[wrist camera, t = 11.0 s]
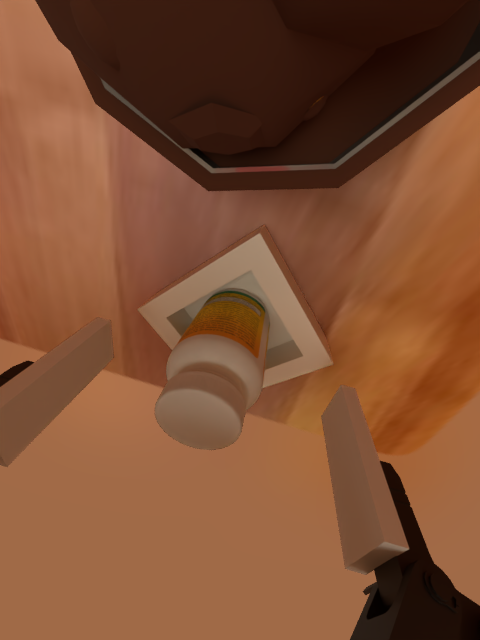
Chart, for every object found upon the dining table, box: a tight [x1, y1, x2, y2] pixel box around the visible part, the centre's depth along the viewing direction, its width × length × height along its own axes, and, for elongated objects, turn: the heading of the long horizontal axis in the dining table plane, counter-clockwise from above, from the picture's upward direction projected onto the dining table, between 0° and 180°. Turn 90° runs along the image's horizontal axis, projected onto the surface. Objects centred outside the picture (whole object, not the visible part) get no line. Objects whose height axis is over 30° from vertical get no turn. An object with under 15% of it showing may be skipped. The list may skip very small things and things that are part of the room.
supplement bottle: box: [155, 289, 270, 450], centre depth 15 cm, size 5×5×10 cm
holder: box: [137, 225, 334, 388], centre depth 18 cm, size 10×10×3 cm
